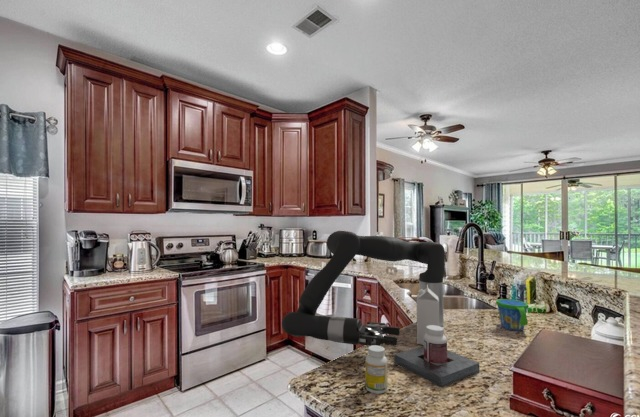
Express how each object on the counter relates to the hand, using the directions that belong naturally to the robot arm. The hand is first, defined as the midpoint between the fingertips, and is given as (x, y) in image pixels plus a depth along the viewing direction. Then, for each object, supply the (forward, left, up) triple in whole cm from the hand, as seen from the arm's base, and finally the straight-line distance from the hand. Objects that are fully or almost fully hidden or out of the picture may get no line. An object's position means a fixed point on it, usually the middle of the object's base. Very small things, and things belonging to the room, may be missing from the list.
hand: (398, 336), depth 91 cm
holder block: (+8, +6, -7) cm, 13 cm away
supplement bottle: (+8, -16, -8) cm, 19 cm away
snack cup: (+1, +61, -8) cm, 62 cm away
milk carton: (-6, +20, -8) cm, 23 cm away
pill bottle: (+8, +6, -8) cm, 13 cm away
